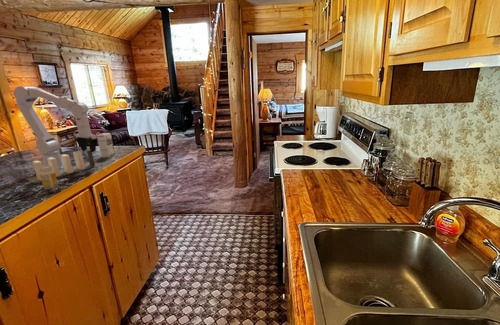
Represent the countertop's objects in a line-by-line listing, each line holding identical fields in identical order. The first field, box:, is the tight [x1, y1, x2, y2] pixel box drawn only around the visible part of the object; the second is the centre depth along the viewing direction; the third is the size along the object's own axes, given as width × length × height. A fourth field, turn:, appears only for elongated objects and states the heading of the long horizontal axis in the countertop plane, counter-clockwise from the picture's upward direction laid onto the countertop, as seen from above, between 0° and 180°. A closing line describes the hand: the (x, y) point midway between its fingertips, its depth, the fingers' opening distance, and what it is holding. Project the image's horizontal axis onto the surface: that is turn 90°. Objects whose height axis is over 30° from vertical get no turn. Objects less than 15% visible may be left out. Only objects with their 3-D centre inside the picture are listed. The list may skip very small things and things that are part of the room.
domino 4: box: [72, 151, 86, 171], centre depth 141 cm, size 2×5×9 cm, turn 57°
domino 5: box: [85, 148, 96, 168], centre depth 146 cm, size 2×5×9 cm, turn 35°
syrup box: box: [95, 132, 116, 158], centre depth 165 cm, size 6×6×14 cm
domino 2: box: [47, 157, 62, 178], centre depth 132 cm, size 2×5×9 cm, turn 57°
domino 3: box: [60, 153, 74, 174], centre depth 137 cm, size 2×5×9 cm, turn 57°
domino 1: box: [31, 159, 44, 180], centre depth 127 cm, size 2×5×9 cm, turn 57°
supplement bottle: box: [40, 165, 59, 190], centre depth 118 cm, size 5×5×10 cm
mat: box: [25, 161, 105, 184], centre depth 140 cm, size 12×33×1 cm, turn 147°
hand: (89, 151), depth 145 cm, fingers open, 7 cm apart
